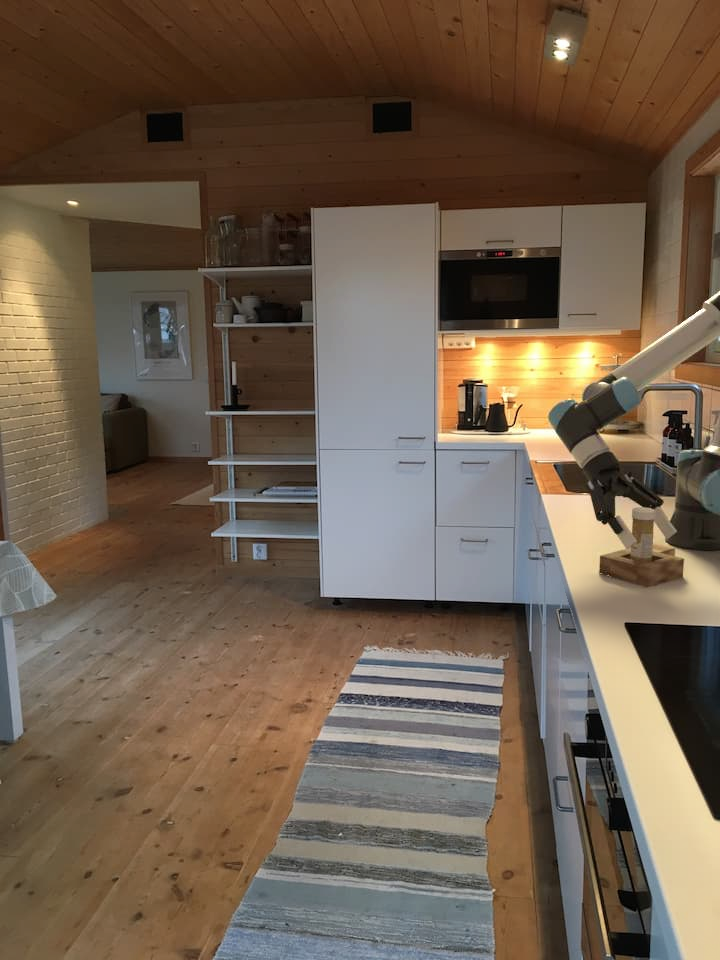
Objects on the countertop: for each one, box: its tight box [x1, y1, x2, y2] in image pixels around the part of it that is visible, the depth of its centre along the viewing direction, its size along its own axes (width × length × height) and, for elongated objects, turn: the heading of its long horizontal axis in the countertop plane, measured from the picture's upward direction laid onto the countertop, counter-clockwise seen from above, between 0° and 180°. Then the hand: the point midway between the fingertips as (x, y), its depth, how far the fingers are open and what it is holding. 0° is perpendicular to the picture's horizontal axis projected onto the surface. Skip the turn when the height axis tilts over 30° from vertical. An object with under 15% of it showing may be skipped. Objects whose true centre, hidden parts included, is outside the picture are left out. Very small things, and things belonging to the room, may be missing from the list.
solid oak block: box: [652, 542, 676, 557], centre depth 170 cm, size 6×6×4 cm
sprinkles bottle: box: [630, 506, 655, 563], centre depth 161 cm, size 5×5×13 cm
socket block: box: [598, 547, 685, 588], centre depth 162 cm, size 12×12×4 cm
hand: (652, 540), depth 159 cm, fingers open, 13 cm apart
